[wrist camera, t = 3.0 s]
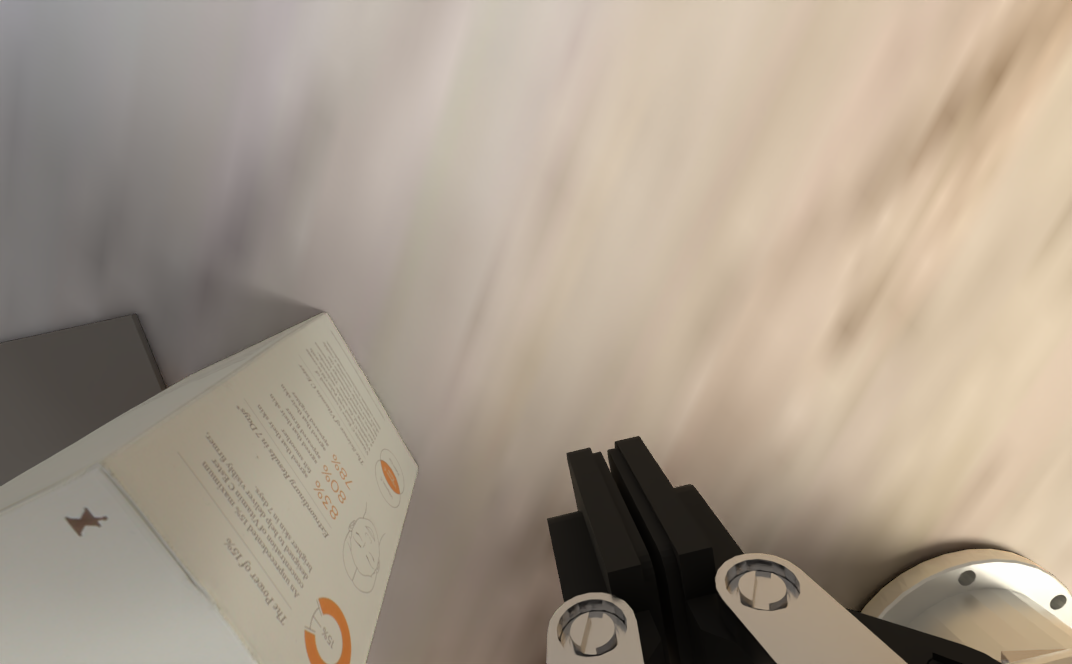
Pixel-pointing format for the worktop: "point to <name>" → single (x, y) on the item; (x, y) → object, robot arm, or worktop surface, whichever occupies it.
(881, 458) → the worktop surface
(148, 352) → the mat
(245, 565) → the small box
